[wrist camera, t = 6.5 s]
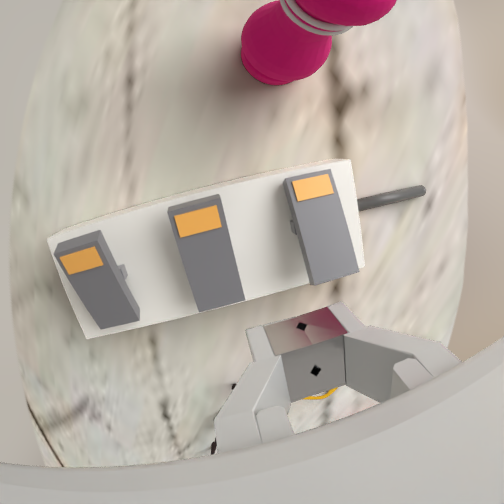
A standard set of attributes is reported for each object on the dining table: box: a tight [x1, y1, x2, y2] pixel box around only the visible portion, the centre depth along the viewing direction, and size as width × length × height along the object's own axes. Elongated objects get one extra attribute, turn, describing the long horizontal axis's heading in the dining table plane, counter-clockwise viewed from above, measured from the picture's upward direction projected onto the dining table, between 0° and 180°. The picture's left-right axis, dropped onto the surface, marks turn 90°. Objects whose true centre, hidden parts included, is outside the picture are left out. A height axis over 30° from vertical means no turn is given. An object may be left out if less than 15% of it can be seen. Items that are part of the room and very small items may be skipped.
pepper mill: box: [241, 0, 396, 85], centre depth 17 cm, size 7×7×20 cm
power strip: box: [47, 159, 426, 339], centre depth 28 cm, size 10×38×5 cm, turn 103°
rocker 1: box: [54, 230, 140, 330], centre depth 23 cm, size 8×4×2 cm, turn 14°
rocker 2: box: [167, 194, 245, 312], centre depth 24 cm, size 8×4×2 cm, turn 13°
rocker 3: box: [283, 169, 359, 285], centre depth 25 cm, size 8×4×2 cm, turn 12°
